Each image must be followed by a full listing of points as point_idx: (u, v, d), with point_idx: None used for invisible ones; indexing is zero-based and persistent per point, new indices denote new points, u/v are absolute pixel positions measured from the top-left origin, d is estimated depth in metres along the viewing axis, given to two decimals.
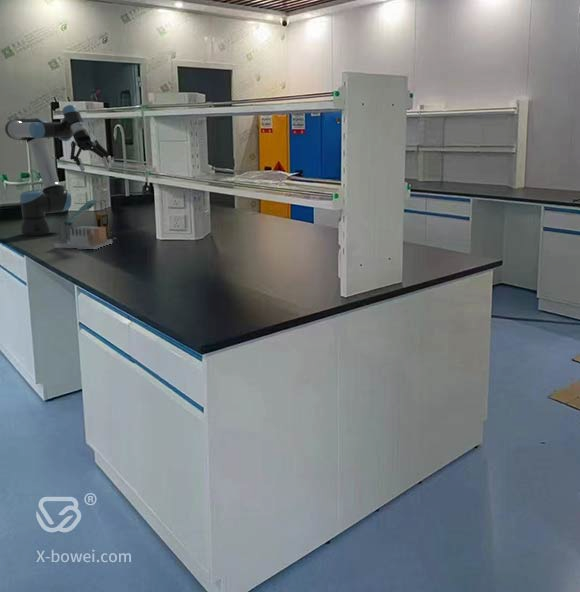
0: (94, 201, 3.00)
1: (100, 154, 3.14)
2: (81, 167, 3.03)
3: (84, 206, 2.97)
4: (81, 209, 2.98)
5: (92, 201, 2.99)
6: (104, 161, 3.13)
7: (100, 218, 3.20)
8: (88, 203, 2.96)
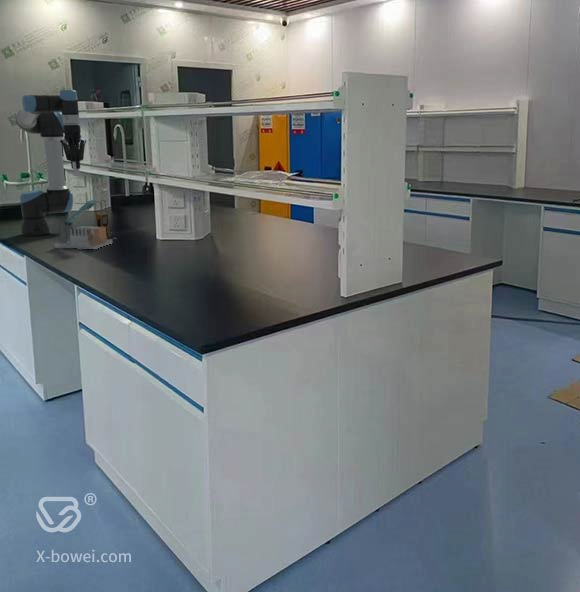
0: (94, 201, 3.00)
1: None
2: None
3: (84, 206, 2.97)
4: (81, 209, 2.98)
5: (92, 201, 2.99)
6: None
7: (100, 218, 3.20)
8: (88, 203, 2.96)
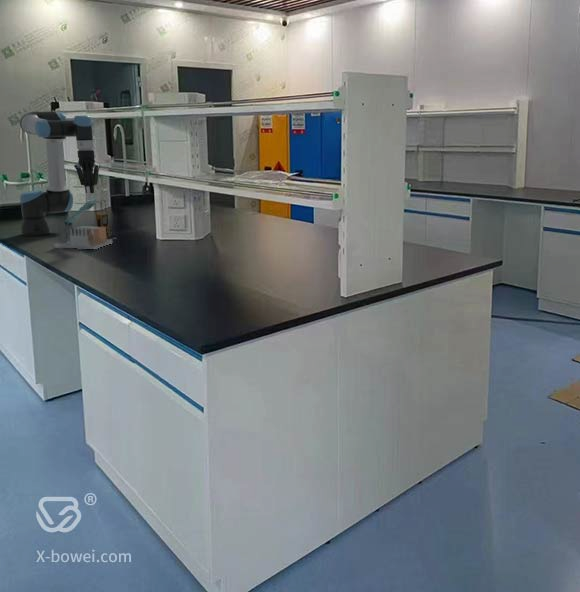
0: (94, 201, 3.00)
1: None
2: None
3: (84, 206, 2.97)
4: (81, 209, 2.98)
5: (92, 201, 2.99)
6: None
7: (100, 218, 3.20)
8: (88, 203, 2.96)
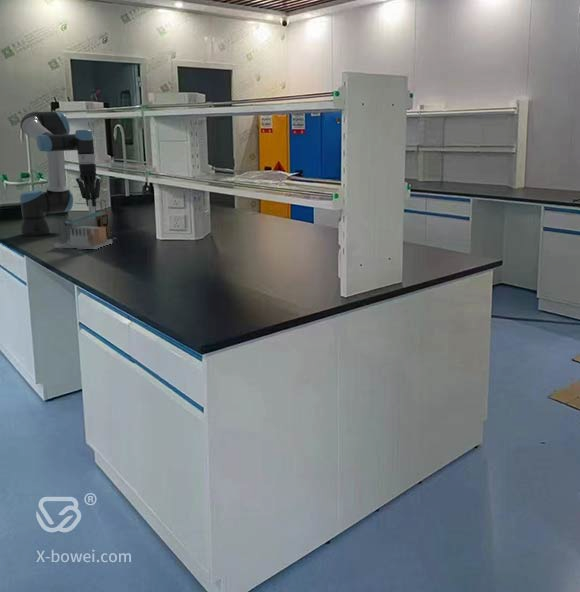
0: (100, 213, 3.01)
1: None
2: None
3: (89, 216, 2.98)
4: (85, 218, 2.99)
5: (99, 213, 3.00)
6: None
7: (100, 218, 3.20)
8: (94, 215, 2.97)
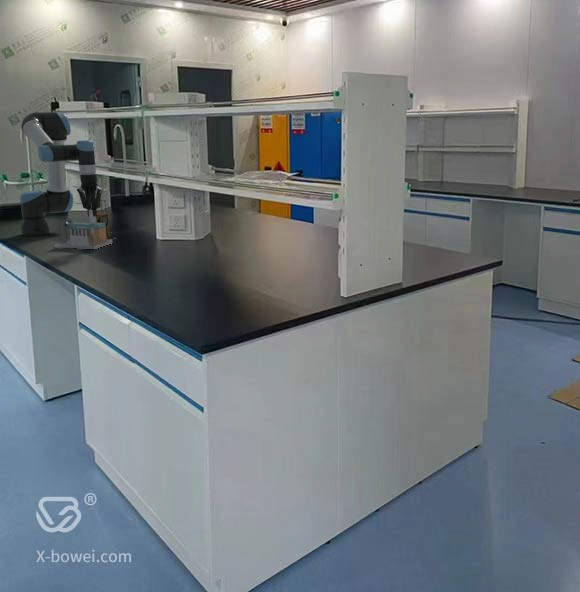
0: (103, 225, 3.02)
1: None
2: None
3: (91, 226, 2.99)
4: (87, 226, 3.00)
5: (101, 225, 3.01)
6: None
7: (100, 218, 3.20)
8: (97, 226, 2.99)
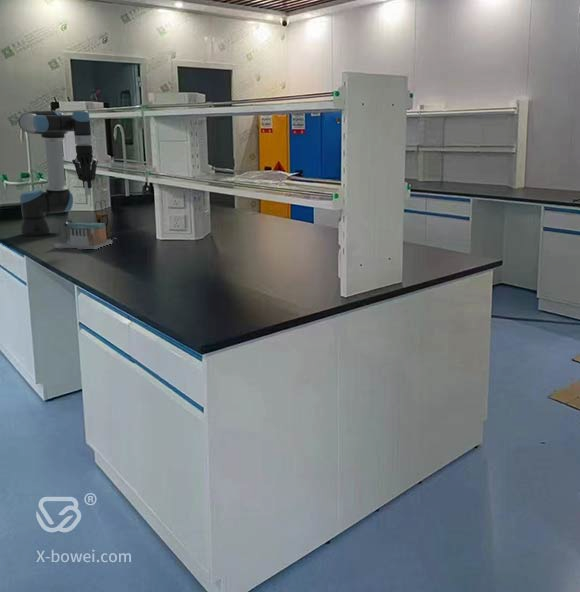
0: (103, 225, 3.02)
1: None
2: None
3: (91, 226, 2.99)
4: (87, 226, 3.00)
5: (101, 225, 3.01)
6: None
7: (100, 218, 3.20)
8: (97, 226, 2.99)
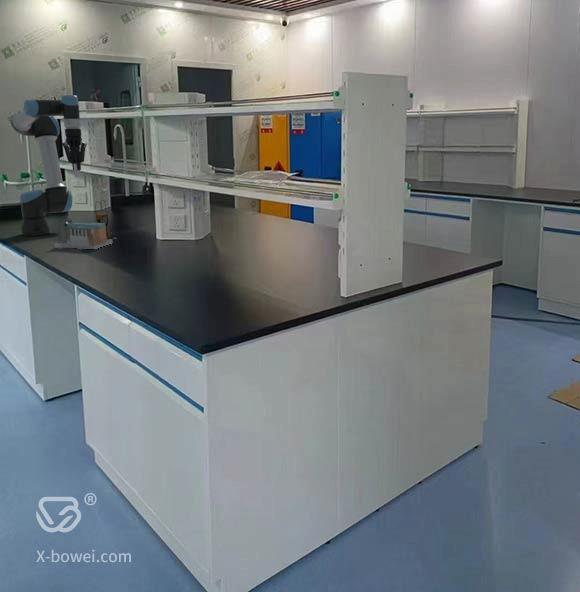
0: (103, 225, 3.02)
1: None
2: None
3: (91, 226, 2.99)
4: (87, 226, 3.00)
5: (101, 225, 3.01)
6: None
7: (100, 218, 3.20)
8: (97, 226, 2.99)
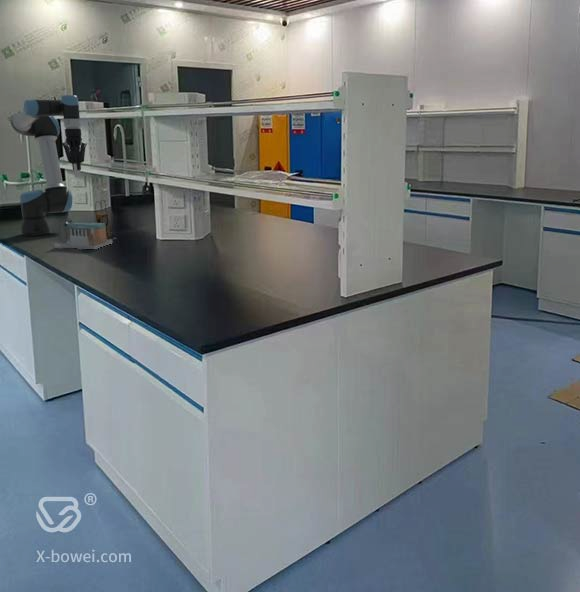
0: (103, 225, 3.02)
1: None
2: None
3: (91, 226, 2.99)
4: (87, 226, 3.00)
5: (101, 225, 3.01)
6: None
7: (100, 218, 3.20)
8: (97, 226, 2.99)
